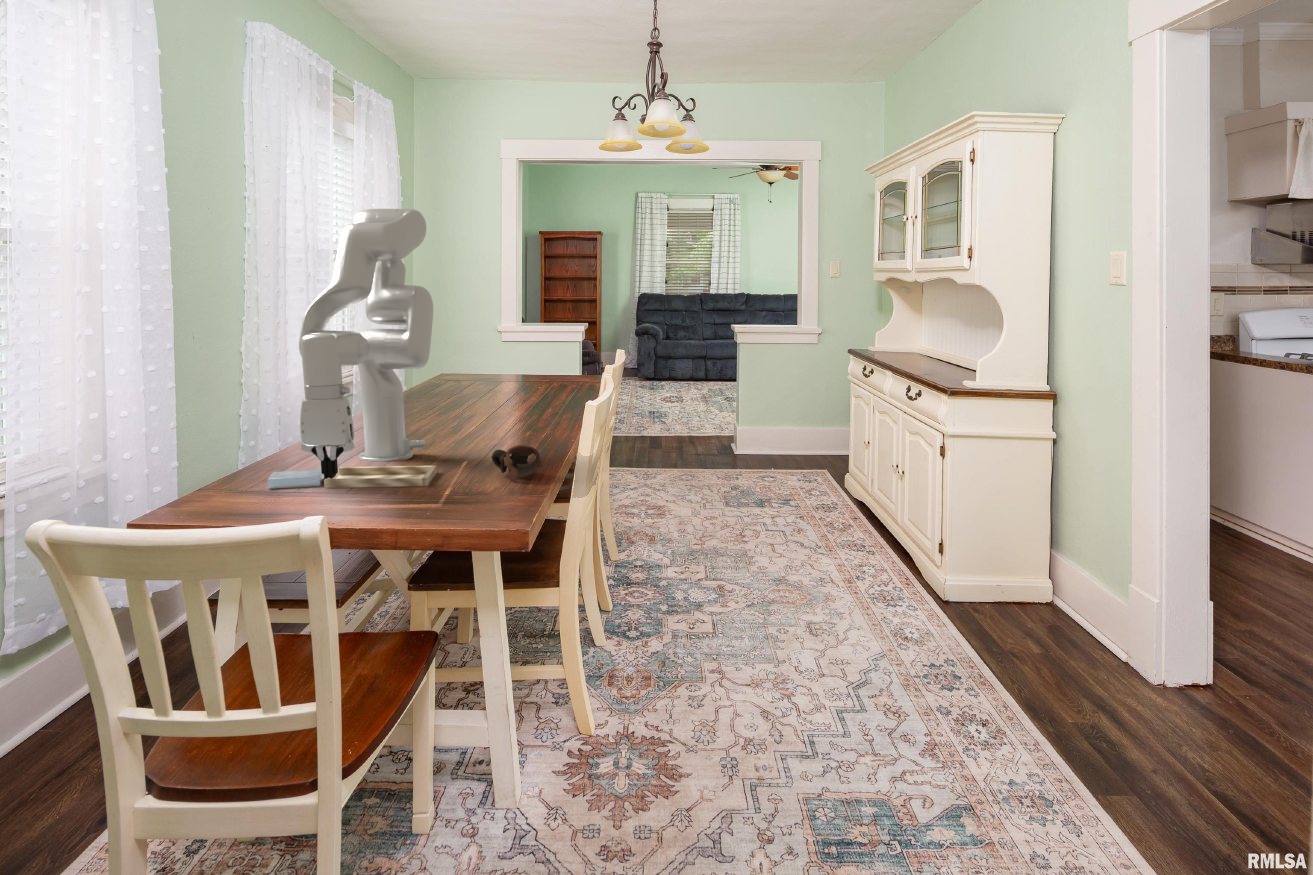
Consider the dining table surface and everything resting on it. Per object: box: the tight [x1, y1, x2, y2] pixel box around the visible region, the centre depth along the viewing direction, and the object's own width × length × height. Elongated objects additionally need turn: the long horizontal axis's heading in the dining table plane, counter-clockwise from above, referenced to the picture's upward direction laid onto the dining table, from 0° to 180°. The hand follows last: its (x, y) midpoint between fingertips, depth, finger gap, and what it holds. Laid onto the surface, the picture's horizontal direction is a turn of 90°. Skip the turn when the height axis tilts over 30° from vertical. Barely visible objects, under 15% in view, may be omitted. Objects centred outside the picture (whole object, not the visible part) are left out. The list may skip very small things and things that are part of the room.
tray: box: [323, 465, 438, 489], centre depth 176 cm, size 21×12×2 cm, turn 96°
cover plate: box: [267, 468, 325, 490], centre depth 173 cm, size 10×7×3 cm
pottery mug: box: [490, 444, 544, 483], centre depth 182 cm, size 12×10×8 cm
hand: (330, 477), depth 175 cm, fingers closed
